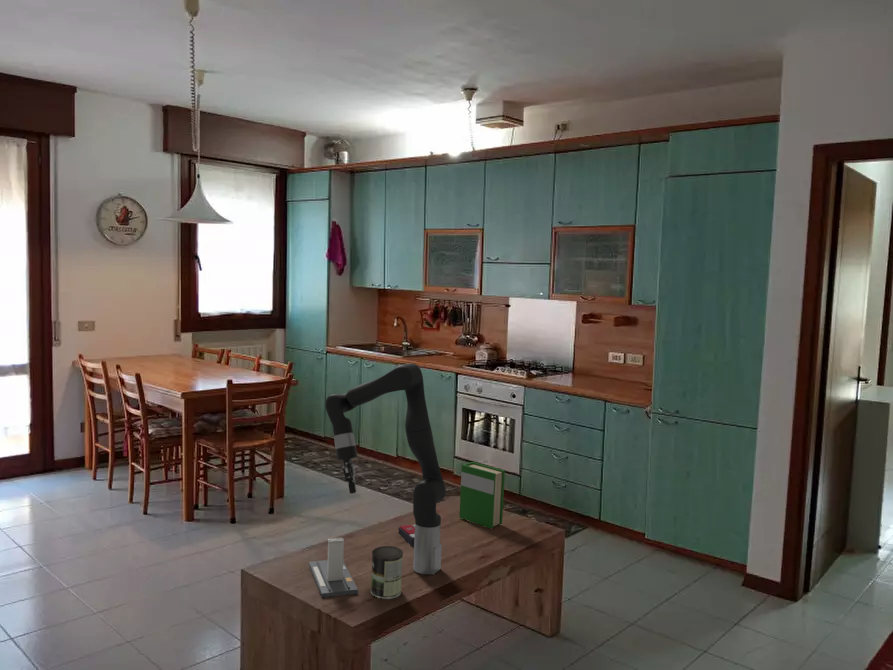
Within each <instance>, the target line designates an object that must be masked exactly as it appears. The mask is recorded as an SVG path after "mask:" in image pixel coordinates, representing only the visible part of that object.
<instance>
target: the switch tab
mask: <svg viewBox="0 0 893 670" xmlns="http://www.w3.org/2000/svg"><path fill="white" fill-rule="evenodd" d="M344 546H345V540H344V537H336V538H327V560H328V561H327V580H328V581H336V580H343V561H344Z"/></svg>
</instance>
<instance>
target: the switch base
mask: <svg viewBox="0 0 893 670" xmlns="http://www.w3.org/2000/svg"><path fill="white" fill-rule="evenodd" d="M327 561H328V559H324V560H315V561H314V560H312V561H309V562H308V567H309V569H310V572H311V574H312V576H313V579H314V582H315V583H316V587H317V589H319V590H318V592H319V591H320V592H319V595H320V594H321V595H320V597H321V598H322V597H325V598H330V596H334V597H338V596H337V595H342V596H349V595H350V594H351V595H358V593H359V589H358V587H357V585H356V582H355V581H354V579H353V577H352V574H351V572H350V571H349V569H348V568H347V566H346V563H345V561H344V560H343V580H336V581H328V580H327ZM347 594H348V595H347Z"/></svg>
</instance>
